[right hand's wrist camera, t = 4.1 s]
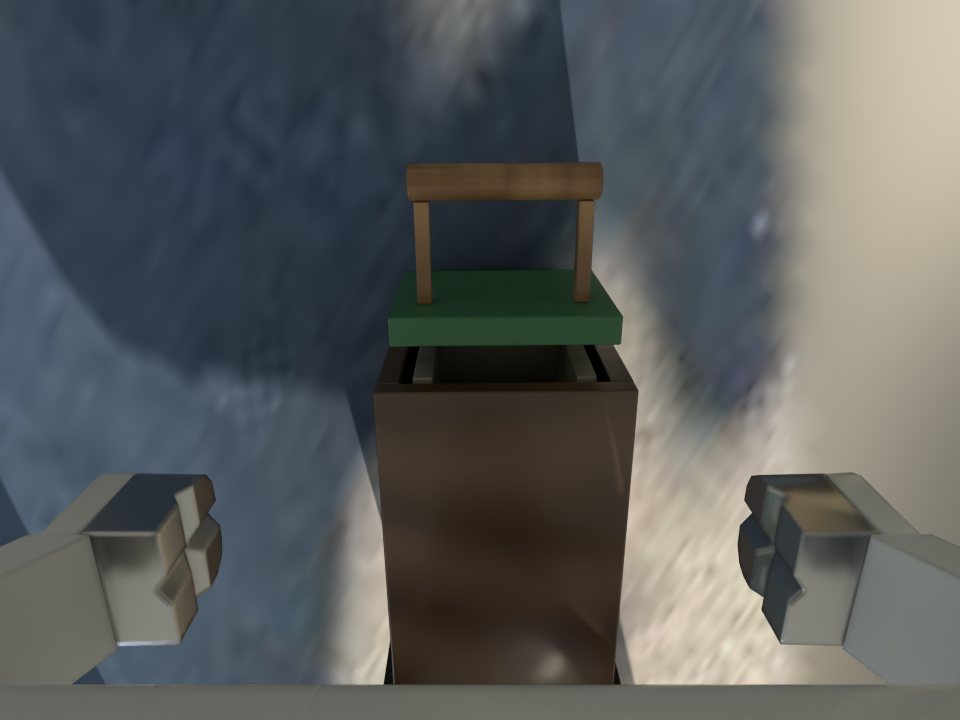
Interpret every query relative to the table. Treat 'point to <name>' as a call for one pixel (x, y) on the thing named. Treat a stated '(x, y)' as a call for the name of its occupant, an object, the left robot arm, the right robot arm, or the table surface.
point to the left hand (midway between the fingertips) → (499, 651)
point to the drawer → (503, 286)
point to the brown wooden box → (504, 523)
